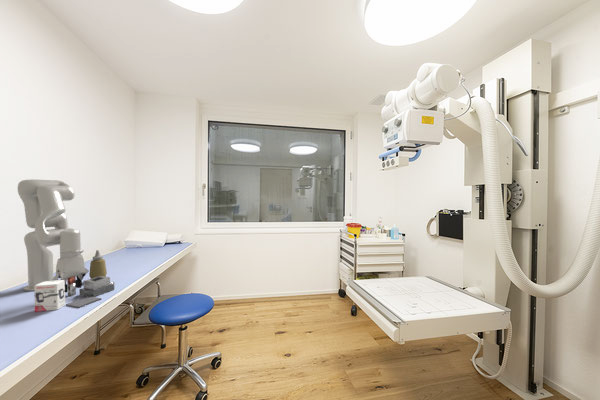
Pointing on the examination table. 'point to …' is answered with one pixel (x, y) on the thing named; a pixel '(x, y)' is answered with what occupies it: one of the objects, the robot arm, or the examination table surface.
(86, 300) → the mat
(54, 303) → the ink box
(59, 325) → the examination table surface
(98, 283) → the block
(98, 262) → the squeeze bottle
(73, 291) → the peg
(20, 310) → the examination table surface
